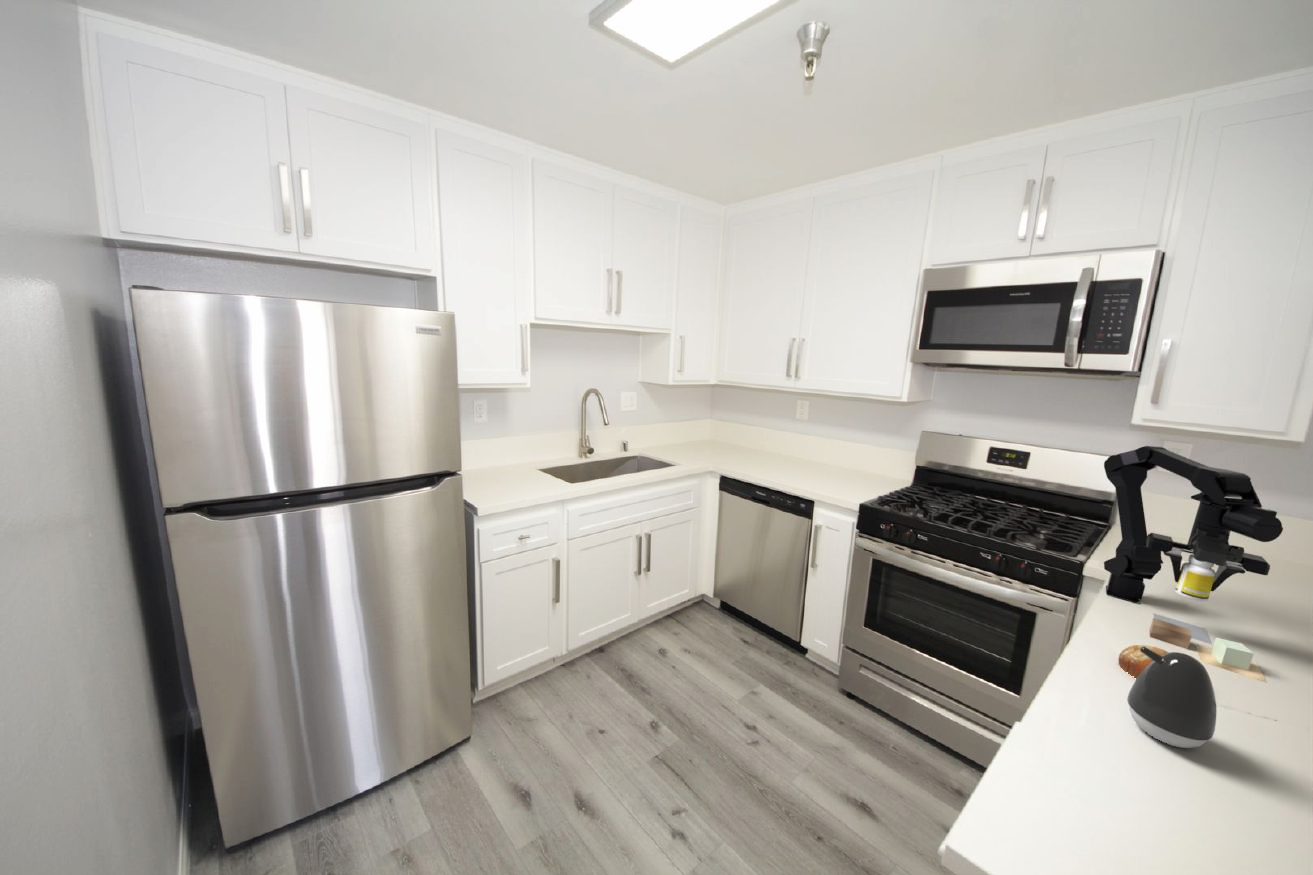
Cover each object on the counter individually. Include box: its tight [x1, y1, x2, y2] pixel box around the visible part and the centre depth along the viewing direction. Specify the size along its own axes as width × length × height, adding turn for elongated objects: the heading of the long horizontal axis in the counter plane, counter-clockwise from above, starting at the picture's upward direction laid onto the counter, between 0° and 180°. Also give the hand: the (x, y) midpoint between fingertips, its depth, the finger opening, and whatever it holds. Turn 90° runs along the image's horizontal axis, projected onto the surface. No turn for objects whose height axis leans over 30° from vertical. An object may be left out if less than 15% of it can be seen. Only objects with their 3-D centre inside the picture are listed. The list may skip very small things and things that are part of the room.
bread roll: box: [1118, 644, 1170, 679], centre depth 98 cm, size 10×10×8 cm
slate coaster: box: [1152, 613, 1213, 645], centre depth 116 cm, size 9×9×1 cm
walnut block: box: [1149, 617, 1192, 650], centre depth 111 cm, size 6×4×4 cm, turn 45°
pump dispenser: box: [1126, 647, 1218, 749], centre depth 81 cm, size 10×10×15 cm
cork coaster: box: [1194, 643, 1268, 683], centre depth 104 cm, size 9×9×1 cm
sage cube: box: [1211, 637, 1254, 670], centre depth 103 cm, size 4×4×4 cm
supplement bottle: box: [1174, 553, 1216, 602], centre depth 114 cm, size 5×5×10 cm
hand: (1193, 586), depth 114 cm, fingers closed on supplement bottle, 5 cm apart
